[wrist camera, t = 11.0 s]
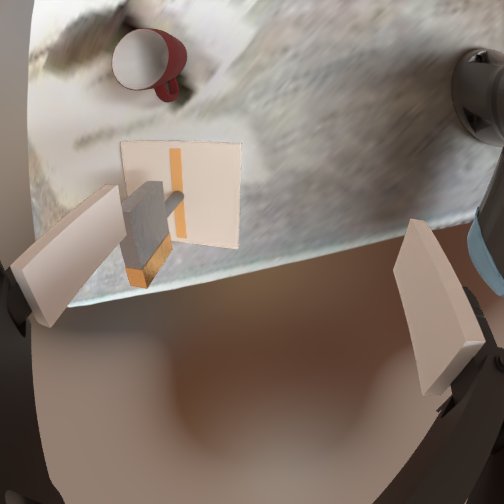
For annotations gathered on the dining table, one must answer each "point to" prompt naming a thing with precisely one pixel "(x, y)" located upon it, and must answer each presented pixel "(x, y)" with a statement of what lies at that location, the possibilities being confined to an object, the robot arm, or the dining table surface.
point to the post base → (191, 186)
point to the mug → (149, 62)
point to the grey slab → (145, 233)
